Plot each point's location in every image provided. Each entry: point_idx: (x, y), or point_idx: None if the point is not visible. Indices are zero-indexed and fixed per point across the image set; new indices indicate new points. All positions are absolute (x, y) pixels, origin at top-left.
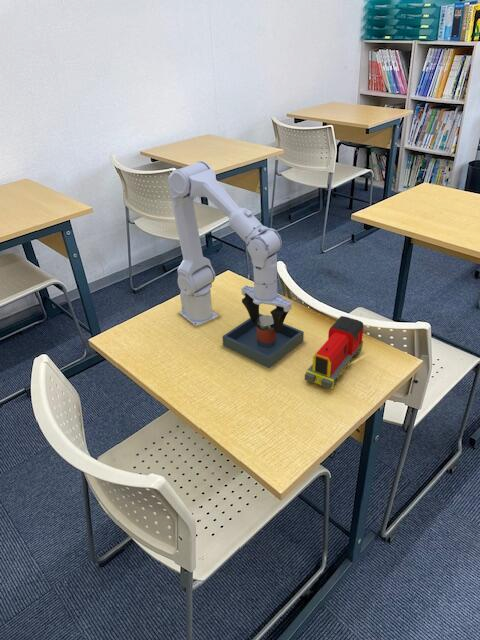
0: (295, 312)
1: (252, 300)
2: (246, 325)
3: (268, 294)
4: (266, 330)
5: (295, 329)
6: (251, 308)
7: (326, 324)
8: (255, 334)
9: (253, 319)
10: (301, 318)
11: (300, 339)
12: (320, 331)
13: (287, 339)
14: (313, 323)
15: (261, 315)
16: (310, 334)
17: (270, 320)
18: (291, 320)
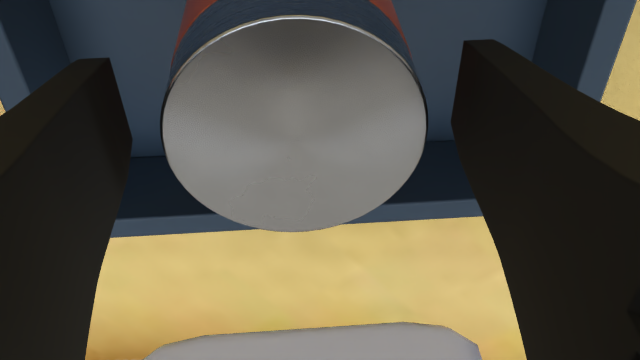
0: None
1: (625, 330)
2: (575, 31)
3: None
4: (202, 13)
5: (133, 225)
6: (566, 175)
7: (154, 344)
8: (450, 15)
9: (479, 70)
10: (305, 314)
11: None
12: (122, 294)
13: None
14: (215, 318)
15: None
16: (139, 248)
17: (248, 167)
18: (341, 276)
